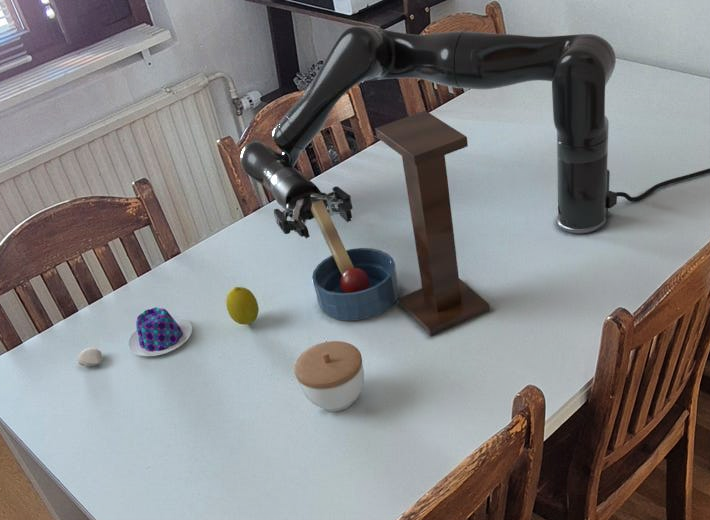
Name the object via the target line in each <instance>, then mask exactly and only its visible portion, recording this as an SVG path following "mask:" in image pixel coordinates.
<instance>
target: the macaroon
mask: <svg viewBox="0 0 710 520" xmlns="http://www.w3.org/2000/svg"><path fill="white" fill-rule="evenodd" d="M76 359H77V362H78V364H79V365H80V366H82V367H92V366H96V365H98V364H100V363H101V362H102V359H103V355H102V351H101V350H100V349H98V348H97V347H87V348H86V349H83V350H82V351H81V352H79V354H78V356H77V358H76Z"/></svg>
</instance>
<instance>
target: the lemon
mask: <svg viewBox="0 0 710 520" xmlns="http://www.w3.org/2000/svg"><path fill="white" fill-rule="evenodd" d="M225 305H226V310H227V312H228V315H229V316H230V318H231V320H233V321H234V322H235V323H236V324H239V325H243V326H244V325H246V326H249V325H251V324H253V322H255V321H256V319H257V318H258V315H259V303H258V301H257V298H256V297H255V295H254V293H253V292H252V291H251V290H250V289H248V288H247V287H243V286H235V287H234V288H233V287H232V289H231V290H229V292H228V293H227V294H226V299H225Z"/></svg>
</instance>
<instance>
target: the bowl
mask: <svg viewBox="0 0 710 520" xmlns="http://www.w3.org/2000/svg"><path fill="white" fill-rule="evenodd" d="M346 251H347V254H348V256H349V258H350V260H351V262H352V264H353V266H354V268H360V269H362V270H363V271H365V272H366V274H367V275H368V277H369V280H370V286H369V289H366V290H363V291H359V292H353V293H344V292H343V290H342V288H341V284H340V281H341V277H342V275H341V273H340V271H339V268H338V266H337V264H336V262H335V260H334V258H333V256H332V254H331V255H330V256H328V257H326V258H325V259H323V260H322V261H321V262H320V263H318V264H317V266H316V267H315V268H314V270H313V271H312V277H311V280H312V284H313V287H314V292H315V295H316V298H317V302H318V306H319V309H320V310H321V312H323V314H324V315H326V316H328V317H330V318H332V319H336V320H341V321H358V320H359V321H360V320H364V319H368V318H372V317H375V316H377V315H379V314H382V313H384V312H385V311H386V310H388V309H389V308H391V307H392V306H393V305H394V304H395V302H396V301H397V300H398V298H399V296H400V285H399V279H398V273H397V266H396V263H395V260H394V258H393V257H392V255H390V254H389V253H388V252H385V251H384V250H381V249H377V248H372V247H371V248H370V247H358V248H349V249H346Z"/></svg>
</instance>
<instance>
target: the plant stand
mask: <svg viewBox="0 0 710 520" xmlns="http://www.w3.org/2000/svg"><path fill="white" fill-rule="evenodd" d="M375 136H376V138H377V139H378V140H380V141H381V142H382V143H383V144H385V145H386V146H387V147H389V148H391V150H393V151H394V152H396V153H397V154H398V155H400V156H401V159H402V166H403V172H404V178H405V185H406V191H407V198H408V206H409V211H410V218H411V224H412V231H413V238H414V243H415V250H416V256H417V263H418V269H419V276H420V282H421V288H419V289H417V290H414V291H412V292H409V293H407V294H405V295H403V296H400V297H398V298H397V300H398V306H400V307H401V308H402V309H403V310H404V311H405V313H407V315H409V316H410V317H411V318H412V319H413V320H414V322H416V324H418V325H419V326H420V328H421V329H422V330H424V331H425V333H426V334H428V336H430V337H433V336H435V335H438V334H440V333H442V332H445V331H446V330H450V329H451V328H453V327H456V326H458V325H460V324H463V323H465V322H467V321H469V320H472V319H474V318H477V317H478V316H481V315H483V314H486V313H487V312H490V303H489V302H487V301H486V300H485V299H484V298H482V296H481V295H479V294H478V293H477V292H476V291H474V289H472V287H470V286H469V285H468V284H467V283H465V282H464V281H463V280H462V279H461V278H460V277H459V276H460V275H459V268H458V267H459V266H458V258H457V250H456V241H455V233H454V224H453V216H452V205H451V198H450V197H451V196H450V189H449V180H448V171H447V163H446V162H447V161H446V155H449V154H452V153H455V152H457V151H459V150H462V149H464V148H468V145H469V144H468V136H466V135H465V134H464V133H462V132H460V131H459V130H457V129H455V128H454V127H452V126H451V125H449V124H448V123H446V122H445V121H443V120H442V119H439V118H438V117H437V116H435V115H434V114H432V113H430V112H428V111H427V110H422V111H420V112H417V113H414V114H412V115H411V114H410V115H409V116H405V117H403V118H400V119H397V120H395V121H392V122H390V123H386V124H384V125H380V126H377V127H375Z"/></svg>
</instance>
